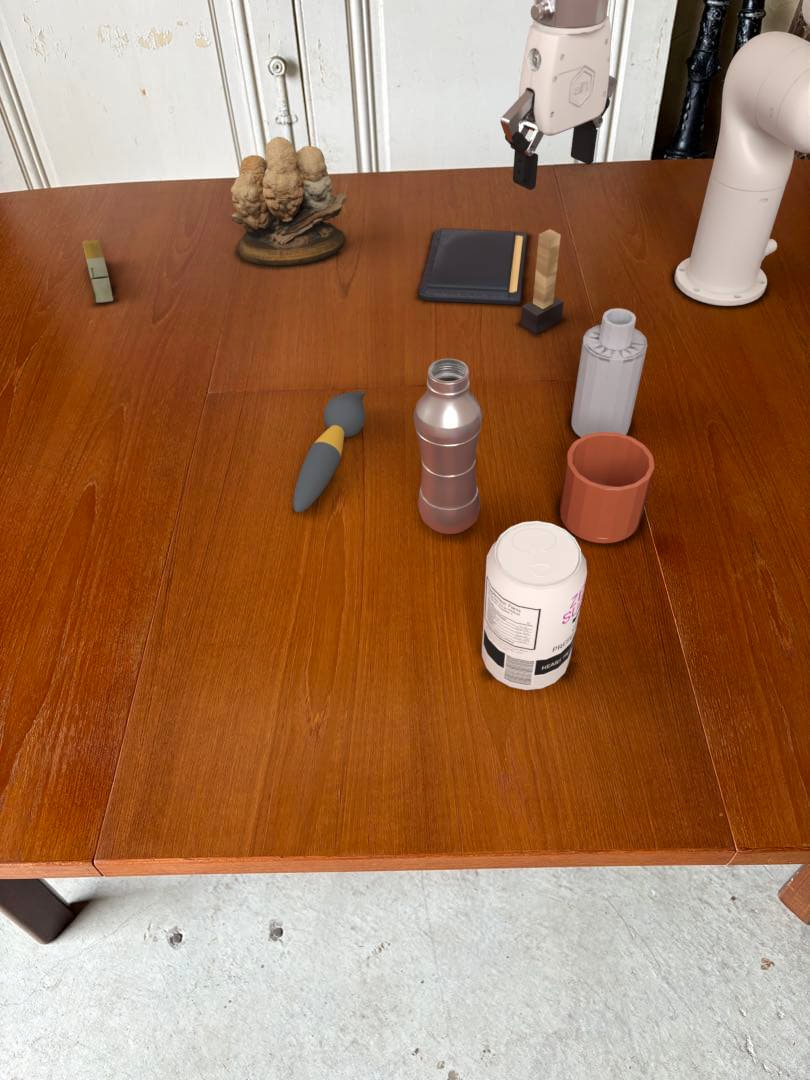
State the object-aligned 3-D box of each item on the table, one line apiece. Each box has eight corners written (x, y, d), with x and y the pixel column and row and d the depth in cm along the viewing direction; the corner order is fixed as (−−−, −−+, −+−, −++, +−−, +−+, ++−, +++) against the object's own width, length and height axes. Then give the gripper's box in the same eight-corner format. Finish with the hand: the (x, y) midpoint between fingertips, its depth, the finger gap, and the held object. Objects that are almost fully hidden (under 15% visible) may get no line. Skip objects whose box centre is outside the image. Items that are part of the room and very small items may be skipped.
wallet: (435, 220, 129) (532, 225, 127) (435, 231, 131) (531, 237, 128) (413, 288, 116) (520, 295, 114) (414, 300, 118) (519, 307, 115)
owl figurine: (348, 223, 134) (337, 114, 121) (353, 260, 126) (342, 147, 113) (238, 233, 133) (216, 124, 120) (236, 271, 125) (212, 159, 112)
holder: (597, 475, 92) (607, 420, 86) (656, 516, 88) (672, 462, 82) (543, 510, 89) (549, 457, 83) (602, 556, 84) (613, 502, 78)
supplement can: (475, 625, 79) (479, 520, 68) (559, 617, 80) (577, 511, 68) (488, 697, 74) (494, 597, 63) (577, 689, 74) (600, 587, 63)
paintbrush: (330, 524, 89) (325, 491, 85) (287, 517, 90) (280, 485, 86) (375, 410, 102) (372, 377, 98) (337, 405, 103) (333, 373, 99)
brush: (546, 311, 115) (555, 223, 105) (561, 320, 113) (572, 231, 103) (520, 325, 113) (527, 236, 103) (535, 334, 111) (544, 245, 101)
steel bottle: (598, 399, 101) (616, 292, 90) (640, 426, 98) (665, 318, 86) (559, 423, 99) (573, 315, 87) (601, 451, 95) (622, 343, 84)
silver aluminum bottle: (475, 545, 86) (480, 395, 71) (412, 537, 87) (405, 388, 72) (483, 502, 90) (490, 352, 75) (423, 495, 91) (418, 346, 76)
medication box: (115, 301, 121) (109, 277, 118) (96, 304, 120) (90, 279, 117) (104, 261, 128) (98, 237, 125) (86, 264, 127) (80, 239, 124)
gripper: (536, 35, 78) (523, 207, 91) (654, -4, 85) (626, 161, 98) (483, 17, 82) (478, 184, 95) (600, -19, 89) (580, 142, 102)
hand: (553, 172), depth 97 cm, fingers open, 9 cm apart
